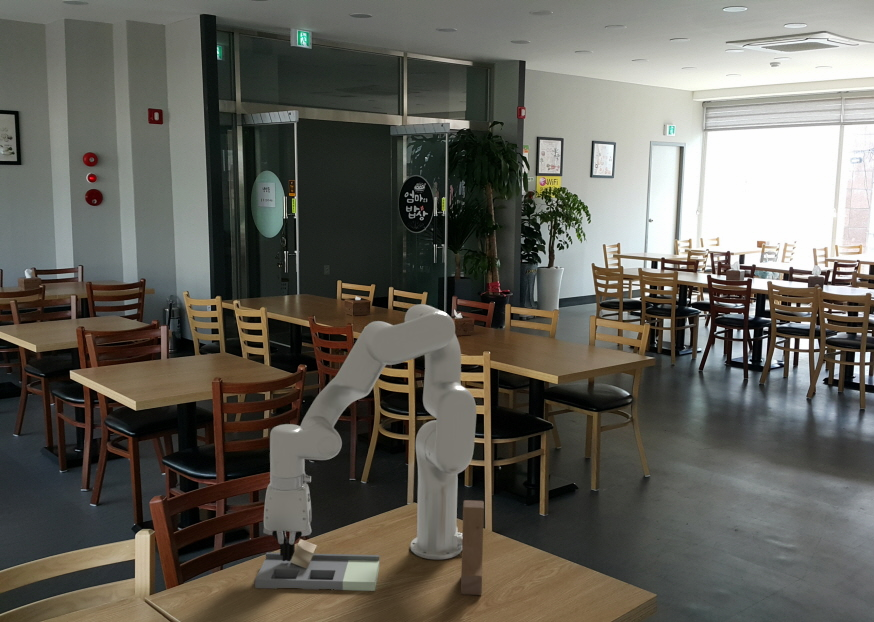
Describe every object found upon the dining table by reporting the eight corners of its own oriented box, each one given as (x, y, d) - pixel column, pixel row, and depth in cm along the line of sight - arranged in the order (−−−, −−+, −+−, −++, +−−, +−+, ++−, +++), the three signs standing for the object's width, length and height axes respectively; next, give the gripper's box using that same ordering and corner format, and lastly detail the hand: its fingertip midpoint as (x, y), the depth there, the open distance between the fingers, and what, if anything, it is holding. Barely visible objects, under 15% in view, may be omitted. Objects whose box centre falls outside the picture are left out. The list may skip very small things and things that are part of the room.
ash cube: (311, 560, 182) (316, 545, 181) (307, 568, 178) (313, 553, 177) (294, 554, 182) (300, 538, 181) (290, 562, 178) (296, 546, 177)
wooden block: (481, 595, 171) (483, 516, 169) (460, 595, 172) (462, 515, 169) (481, 576, 180) (483, 500, 178) (461, 575, 181) (463, 499, 178)
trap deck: (379, 567, 184) (379, 555, 183) (374, 590, 173) (375, 577, 172) (266, 564, 184) (266, 552, 183) (255, 587, 173) (255, 574, 173)
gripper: (323, 475, 181) (323, 552, 184) (258, 473, 181) (258, 550, 184) (318, 487, 174) (317, 567, 176) (249, 485, 174) (250, 565, 177)
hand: (287, 558), depth 180 cm, fingers closed
